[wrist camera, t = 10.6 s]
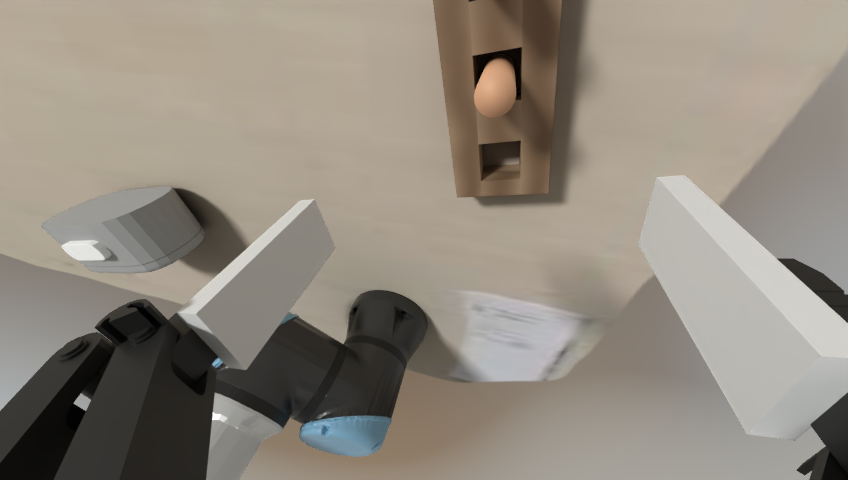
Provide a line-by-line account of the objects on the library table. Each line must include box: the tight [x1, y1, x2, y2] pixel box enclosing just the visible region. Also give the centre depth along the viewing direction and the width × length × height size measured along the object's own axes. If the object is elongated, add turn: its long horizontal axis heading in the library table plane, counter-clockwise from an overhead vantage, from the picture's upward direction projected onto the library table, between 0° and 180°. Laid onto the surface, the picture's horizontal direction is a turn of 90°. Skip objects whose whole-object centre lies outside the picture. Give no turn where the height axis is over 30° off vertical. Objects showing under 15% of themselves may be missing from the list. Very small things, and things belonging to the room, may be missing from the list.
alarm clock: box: [41, 186, 206, 273], centre depth 50 cm, size 21×10×13 cm, turn 101°
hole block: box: [433, 0, 562, 197], centre depth 29 cm, size 10×24×4 cm, turn 10°
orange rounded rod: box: [474, 54, 516, 118], centre depth 26 cm, size 3×3×11 cm
